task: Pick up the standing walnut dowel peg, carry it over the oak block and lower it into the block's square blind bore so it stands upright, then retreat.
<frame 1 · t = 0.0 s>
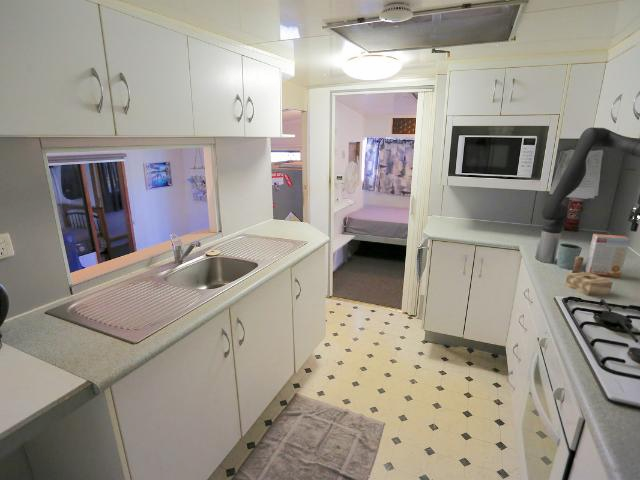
teal ceramic cylinder: (566, 267, 198), on the worktop
walnut peg: (574, 278, 182), on the worktop
cracker box: (601, 274, 187), on the worktop
oak bore block: (586, 289, 168), on the worktop
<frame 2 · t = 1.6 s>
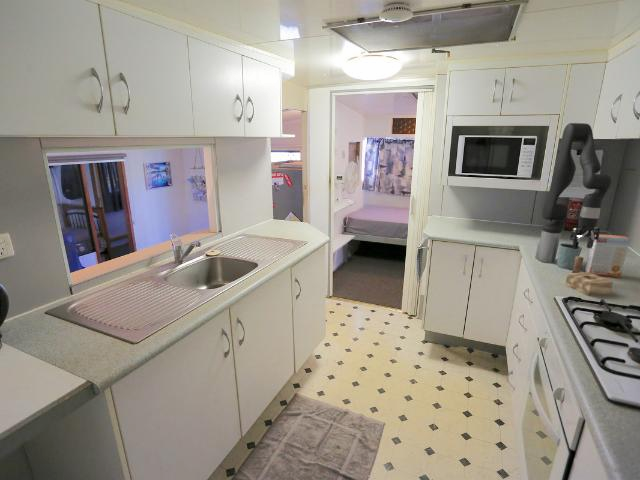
hand: (581, 248, 177), 16 cm above the worktop, fingers open, 8 cm apart
nothing on the worktop moved.
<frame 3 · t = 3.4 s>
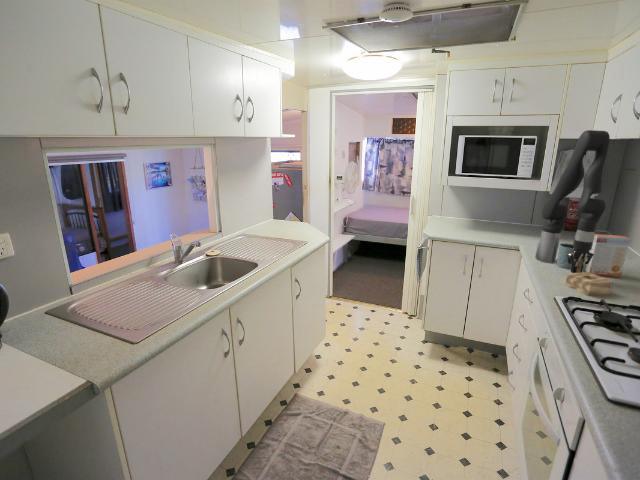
hand: (576, 272, 181), 3 cm above the worktop, fingers closed on walnut peg, 3 cm apart
walnut peg: (574, 278, 182), on the worktop, touching gripper
everything else where it was.
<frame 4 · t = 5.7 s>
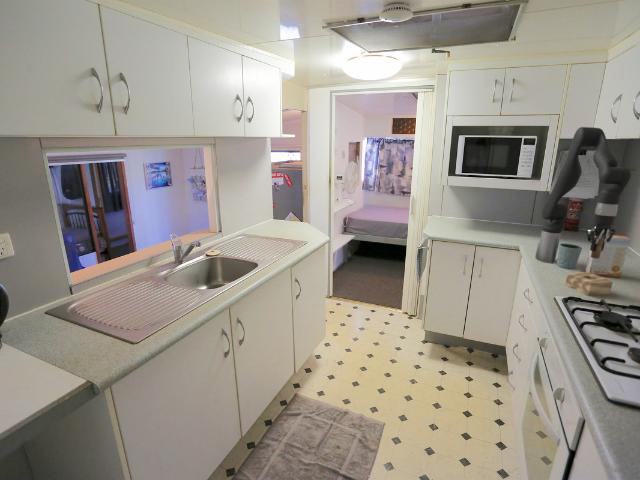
hand: (596, 250, 163), 19 cm above the worktop, fingers closed on walnut peg, 3 cm apart
walnut peg: (594, 257, 163), point 16 cm above the worktop, touching gripper
everything else where it was.
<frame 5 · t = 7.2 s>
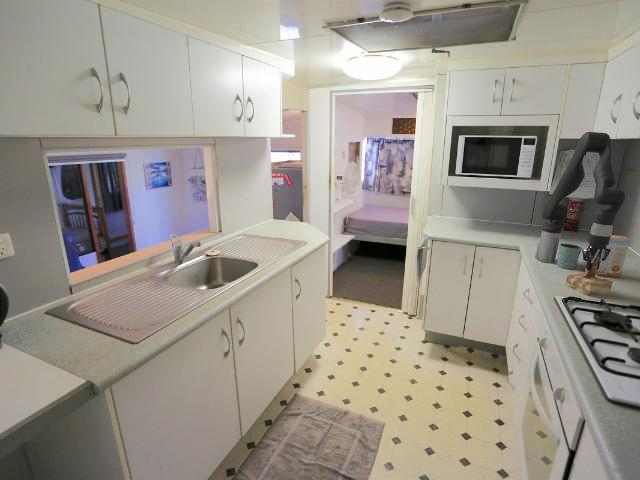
hand: (591, 269, 165), 10 cm above the worktop, fingers closed on walnut peg, 3 cm apart
walnut peg: (590, 276, 166), point 7 cm above the worktop, touching gripper
everything else where it was.
when the fingers open (7 cm above the worktop, at t = 8.2 s): walnut peg drops 2 cm, resting on oak bore block.
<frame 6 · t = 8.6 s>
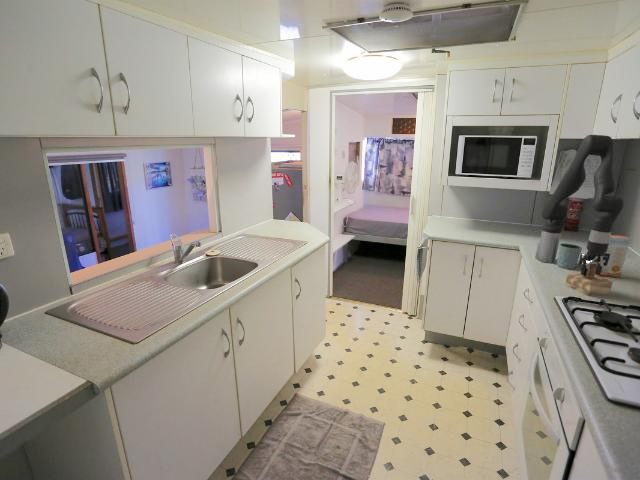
hand: (590, 274, 166), 7 cm above the worktop, fingers open, 7 cm apart
walnut peg: (587, 286, 167), point 2 cm above the worktop, touching oak bore block
everything else where it was.
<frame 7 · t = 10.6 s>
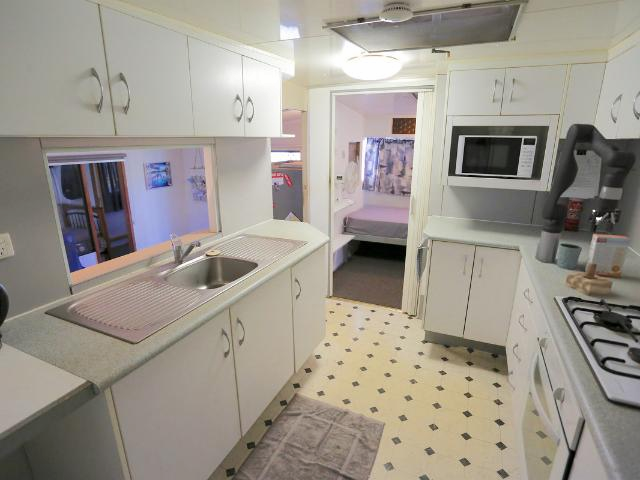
hand: (600, 231, 165), 27 cm above the worktop, fingers open, 8 cm apart
nothing on the worktop moved.
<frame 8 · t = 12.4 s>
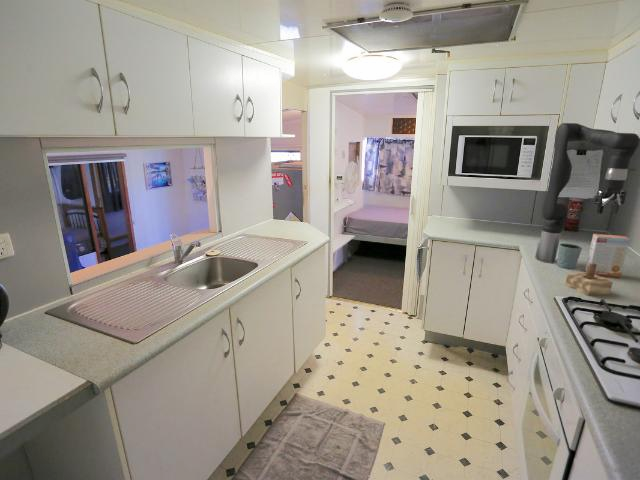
hand: (606, 213, 169), 34 cm above the worktop, fingers open, 8 cm apart
nothing on the worktop moved.
at the end: walnut peg 0.1 cm off-centre on the oak bore block, point 1.6 cm above the oak bore block's base; walnut peg tilted 1°; the gripper is holding nothing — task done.
